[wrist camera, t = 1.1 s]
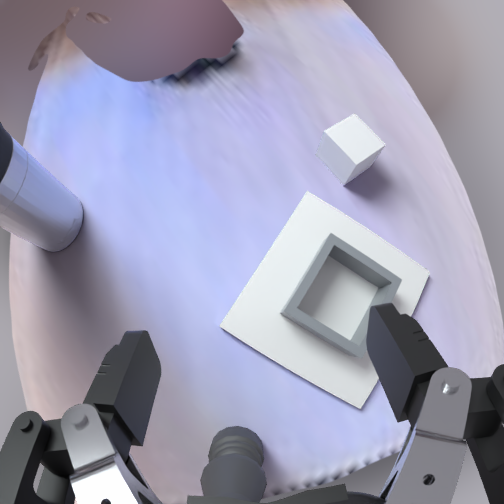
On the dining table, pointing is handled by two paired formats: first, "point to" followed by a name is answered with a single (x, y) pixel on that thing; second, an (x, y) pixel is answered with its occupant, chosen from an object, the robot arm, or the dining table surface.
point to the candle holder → (235, 466)
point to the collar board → (324, 298)
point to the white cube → (349, 148)
